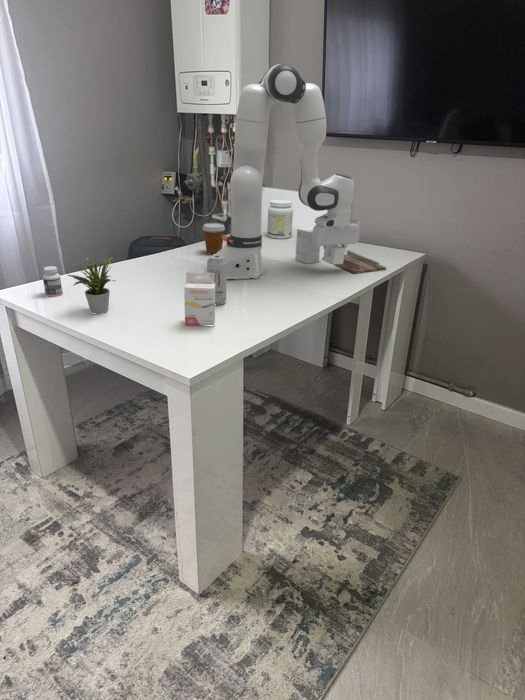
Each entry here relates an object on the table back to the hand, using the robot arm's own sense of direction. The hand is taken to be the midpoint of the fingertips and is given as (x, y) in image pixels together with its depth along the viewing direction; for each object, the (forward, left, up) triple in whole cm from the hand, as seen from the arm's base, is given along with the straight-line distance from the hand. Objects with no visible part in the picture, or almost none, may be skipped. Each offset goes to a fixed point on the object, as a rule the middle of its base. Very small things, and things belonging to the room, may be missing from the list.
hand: (333, 255), depth 195 cm
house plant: (-90, -7, -6) cm, 91 cm away
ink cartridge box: (-66, -29, -6) cm, 73 cm away
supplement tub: (+9, +59, -6) cm, 60 cm away
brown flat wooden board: (+14, +5, -6) cm, 16 cm away
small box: (-1, +17, -6) cm, 18 cm away
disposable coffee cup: (-33, +41, -6) cm, 53 cm away
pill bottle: (-101, +12, -6) cm, 102 cm away
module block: (0, 0, -2) cm, 2 cm away
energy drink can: (-55, -15, -6) cm, 58 cm away
